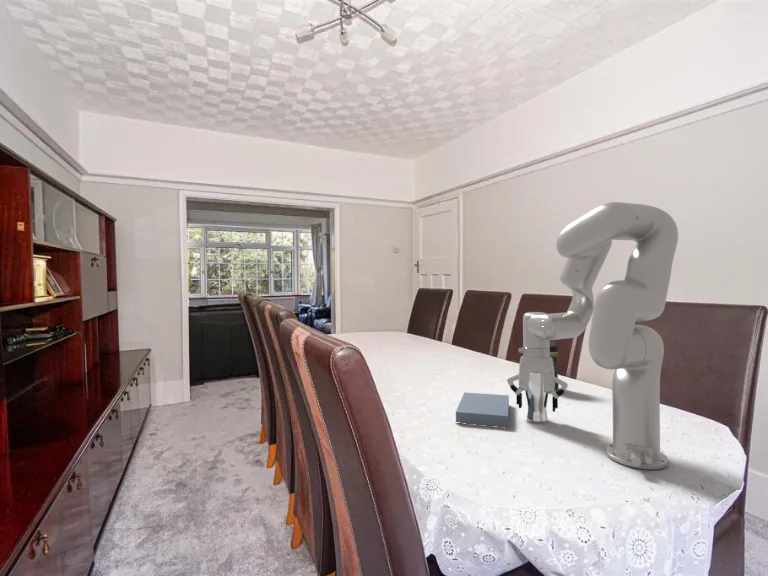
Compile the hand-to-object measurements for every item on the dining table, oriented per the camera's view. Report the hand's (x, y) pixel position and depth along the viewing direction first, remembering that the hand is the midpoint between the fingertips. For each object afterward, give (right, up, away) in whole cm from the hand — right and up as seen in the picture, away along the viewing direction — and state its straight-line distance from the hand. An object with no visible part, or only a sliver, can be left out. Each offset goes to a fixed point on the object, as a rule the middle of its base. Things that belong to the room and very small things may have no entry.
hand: (536, 408), depth 123 cm
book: (-15, -4, +6) cm, 16 cm away
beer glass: (0, -4, 0) cm, 4 cm away
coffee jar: (+17, -3, +35) cm, 39 cm away
